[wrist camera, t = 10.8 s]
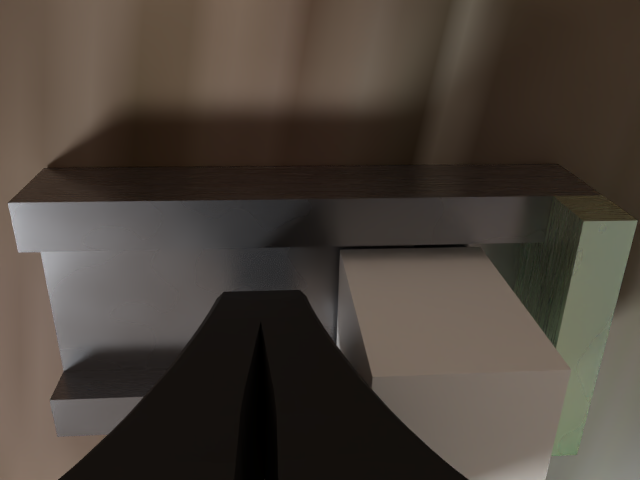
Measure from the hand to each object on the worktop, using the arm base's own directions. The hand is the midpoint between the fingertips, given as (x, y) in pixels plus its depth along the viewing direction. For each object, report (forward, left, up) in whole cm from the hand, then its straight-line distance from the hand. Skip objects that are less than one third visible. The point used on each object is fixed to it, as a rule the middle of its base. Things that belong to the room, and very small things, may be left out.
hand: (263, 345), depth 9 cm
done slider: (+2, 0, -1) cm, 3 cm away
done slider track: (+1, 0, -2) cm, 2 cm away
